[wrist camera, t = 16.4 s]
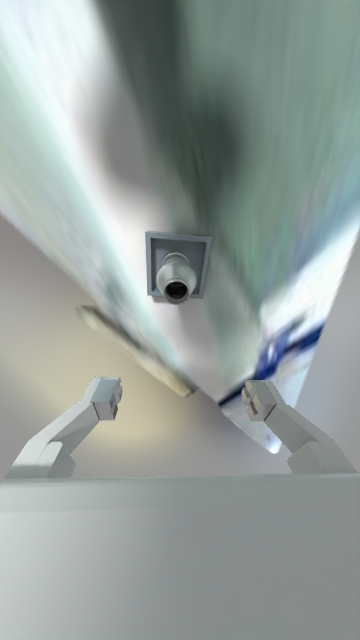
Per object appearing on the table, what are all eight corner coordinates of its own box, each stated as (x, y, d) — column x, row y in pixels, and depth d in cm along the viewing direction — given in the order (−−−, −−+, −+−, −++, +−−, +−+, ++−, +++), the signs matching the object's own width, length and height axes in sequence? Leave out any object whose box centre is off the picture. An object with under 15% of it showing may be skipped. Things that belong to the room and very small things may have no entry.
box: (148, 231, 36) (145, 231, 32) (208, 236, 36) (212, 237, 33) (149, 289, 43) (147, 295, 39) (200, 292, 44) (202, 298, 40)
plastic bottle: (161, 248, 37) (149, 268, 20) (190, 249, 37) (203, 269, 20) (162, 275, 40) (152, 313, 23) (188, 276, 40) (198, 314, 23)
